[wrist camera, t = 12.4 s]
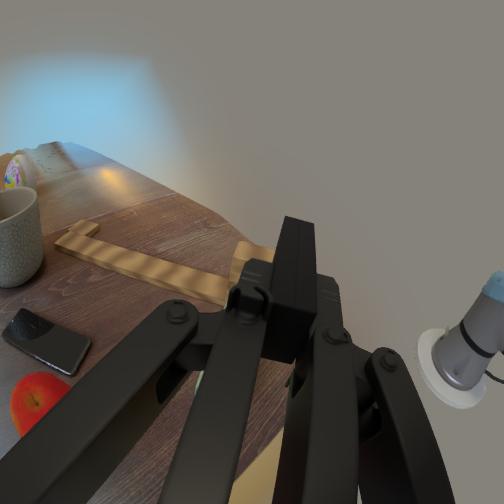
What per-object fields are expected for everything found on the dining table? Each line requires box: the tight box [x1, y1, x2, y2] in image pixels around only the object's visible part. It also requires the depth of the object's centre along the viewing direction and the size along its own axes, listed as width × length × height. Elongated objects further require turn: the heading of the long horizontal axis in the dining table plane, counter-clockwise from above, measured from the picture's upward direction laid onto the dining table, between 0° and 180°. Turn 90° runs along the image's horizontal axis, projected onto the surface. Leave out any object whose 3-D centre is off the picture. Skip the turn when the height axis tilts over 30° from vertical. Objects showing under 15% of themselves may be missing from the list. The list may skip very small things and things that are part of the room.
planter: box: [0, 187, 44, 288], centre depth 37 cm, size 17×17×15 cm
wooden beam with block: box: [54, 220, 276, 309], centre depth 50 cm, size 49×14×12 cm, turn 80°
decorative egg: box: [5, 154, 37, 190], centre depth 61 cm, size 12×12×15 cm
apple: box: [10, 372, 72, 438], centre depth 19 cm, size 9×9×12 cm
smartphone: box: [2, 308, 91, 376], centre depth 31 cm, size 7×1×16 cm
